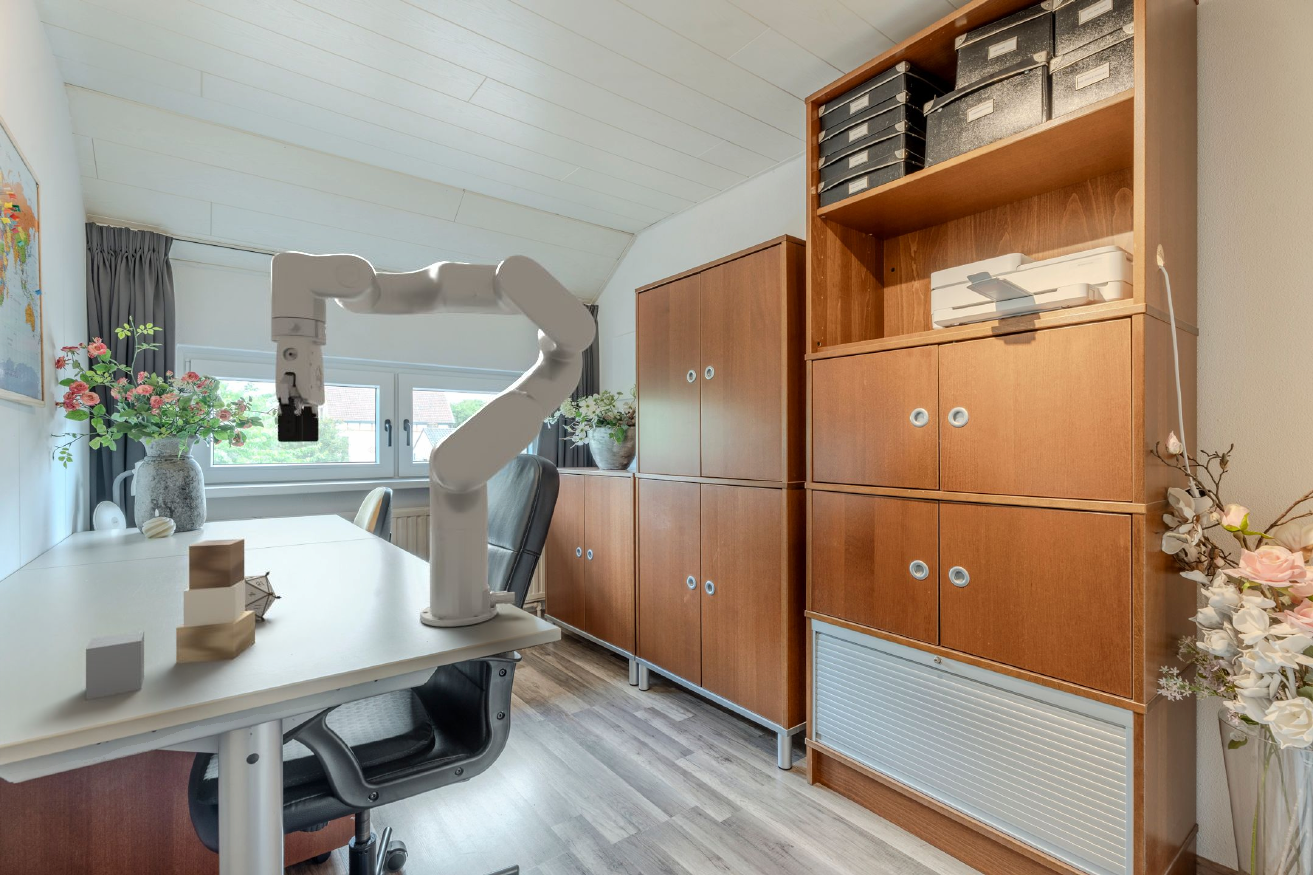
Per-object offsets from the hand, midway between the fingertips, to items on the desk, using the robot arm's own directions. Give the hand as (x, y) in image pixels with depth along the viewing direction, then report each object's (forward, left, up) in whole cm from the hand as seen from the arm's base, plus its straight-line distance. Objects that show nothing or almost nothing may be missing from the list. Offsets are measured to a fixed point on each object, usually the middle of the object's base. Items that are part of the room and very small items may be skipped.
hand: (299, 441), depth 96 cm
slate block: (+16, +17, -30) cm, 38 cm away
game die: (+10, -10, -31) cm, 34 cm away
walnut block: (+9, +6, -20) cm, 23 cm away
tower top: (+9, +6, -26) cm, 28 cm away
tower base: (+9, +6, -31) cm, 32 cm away
